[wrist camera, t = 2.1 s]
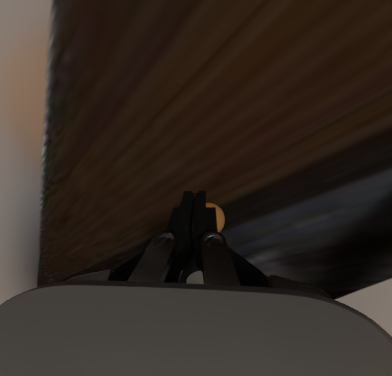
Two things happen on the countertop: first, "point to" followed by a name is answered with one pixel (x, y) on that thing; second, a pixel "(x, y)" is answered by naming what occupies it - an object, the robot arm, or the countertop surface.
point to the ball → (218, 216)
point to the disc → (195, 278)
